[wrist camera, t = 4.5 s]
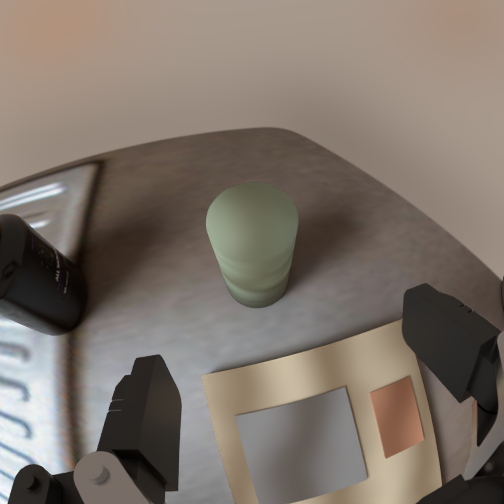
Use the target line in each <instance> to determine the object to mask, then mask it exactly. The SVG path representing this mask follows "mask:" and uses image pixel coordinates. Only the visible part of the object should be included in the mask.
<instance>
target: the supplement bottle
mask: <svg viewBox="0 0 504 504" xmlns="http://www.w3.org/2000/svg"><path fill="white" fill-rule="evenodd" d="M86 294H87V290H86V282H85V279H84V276H83V274H82V272H81V270H80V269H79V268H78V267H77V266H76V265H75V264H74V263H73V262H71V261H70V260H69V259H68V258H67V257H65V256H64V255H63V254H62V253H61V252H59V251H58V250H57V249H56V248H55V247H54V246H52V245H51V244H50V243H49V242H48V241H47V240H45V239H44V238H43V237H42V236H41V235H40V234H39V233H37V232H36V231H35V230H34V229H33V228H32V227H31V226H30V225H29V224H28V223H26V222H25V221H24V220H23V219H22V218H21V217H19V216H17V215H14V214H2V215H0V315H1V316H4V317H6V318H8V319H10V320H12V321H15V322H17V323H19V324H21V325H24V326H26V327H28V328H31V329H33V330H36V331H38V332H41V333H44V334H47V335H51V336H55V335H61V334H63V333H65V332H67V331H68V330H70V329H71V328H72V327H73V326H74V325H75V324H76V323H77V321H78V320H79V318H80V316H81V314H82V312H83V309H84V306H85V302H86Z"/></svg>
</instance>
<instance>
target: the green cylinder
mask: <svg viewBox="0 0 504 504" xmlns="http://www.w3.org/2000/svg"><path fill="white" fill-rule="evenodd" d="M298 219H299V218H298V212H297V209H296V207H295V205H294V203H293V201H292V200H291V199H290V197H289V196H288V195H287V194H285V193H284V192H283V191H282V190H280V189H278V188H276V187H274V186H272V185H269V184H265V183H259V182H249V183H242V184H238V185H235V186H233V187H230V188H229V189H227V190H225V191H224V192H222V193H221V194H220V195H219V196H218V197H217V198H216V199H215V200H214V201H213V203H212V204H211V206H210V208H209V210H208V213H207V218H206V228H207V232H208V235H209V238H210V241H211V244H212V246H213V249H214V252H215V255H216V257H217V260H218V263H219V266H220V268H221V271H222V274H223V277H224V279H225V282H226V285H227V287H228V290H229V292H230V294H231V295H232V297H233V298H234V299H235V300H236V301H237V302H239V303H240V304H242V305H244V306H247V307H251V308H263V307H267V306H270V305H272V304H273V303H275V302H276V301H278V300H279V299H280V298H281V297H282V295H283V294H284V292H285V290H286V287H287V283H288V278H289V273H290V267H291V262H292V257H293V251H294V246H295V240H296V235H297V229H298Z"/></svg>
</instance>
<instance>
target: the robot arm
mask: <svg viewBox="0 0 504 504" xmlns="http://www.w3.org/2000/svg"><path fill="white" fill-rule="evenodd" d="M502 300H503V307H504V277H503V283H502ZM402 335H403V338H404V341H405V342H406V344H407V345H408V346H409V347H410V348H411V350H412V351H413V352H414V353H415V354H416V355H417V356H418V357H419V358H420V359H421V360H422V361H423V362H424V364H425V365H426V366H427V367H428V368H429V369H430V370H431V371H432V372H433V373H434V375H435V376H436V377H437V378H438V379H439V380H440V381H441V382H442V384H443V385H444V386H445V387H446V388H447V389H448V390H449V391H450V393H451V394H452V395H453V396H454V397H455V398H456V399H457V401H458V402H459V403H461V402H463V401H464V400H466V399H467V398H469V397H470V396H473V398H474V399H475V400H474V402H473V405H472V439H471V452H470V457H469V460H468V462H467V465H466V467H465V470H464V473H463V476H462V475H461V474H460V475H458V476H457V477H456V478H454V479H452V480H451V481H449V482H448V483H446V484H445V485H443V486H441V487H440V488H438V489H436V490H435V491H433V492H431V493H430V494H428V495H426V496H424V497H423V498H422V499H420V500H419V501H418V502H417V503H416V504H504V331H502V332H501V331H500V330H499V329H497V328H496V327H495V326H493V325H492V324H491V323H489V322H488V321H487V320H485V319H484V318H483V317H481V316H480V315H478V314H477V313H476V312H474V311H473V312H472V309H470V308H469V307H467V306H466V305H465V306H464V304H463V303H462V302H460V301H459V300H457V299H456V298H455V297H453V296H450V295H447V294H444V293H441V292H439V291H437V290H436V289H434V288H433V287H431V286H430V285H428V284H426V283H425V284H422V285H419V286H416V287H414V288H411V289H408V290H406V292H405V294H404V302H403V318H402ZM181 409H182V404H181V397H180V393H179V390H178V388H177V386H176V384H175V382H174V380H173V378H172V376H171V374H170V372H169V370H168V368H167V366H166V364H165V362H164V360H163V358H162V356H161V355H159V354H158V355H152V356H146V357H140V358H136V360H135V362H134V365H133V369H132V372H131V375H125V376H124V377H123V378H122V380H121V381H120V382H119V383H118V385H117V386H116V388H115V391H114V394H113V397H112V402H111V403H110V406H109V412H108V413H107V416H106V420H105V423H104V426H103V430H102V433H101V437H100V441H99V444H98V448H97V451H96V452H93V453H90V454H88V455H86V456H85V457H83V458H82V459H81V460H80V461H79V462H78V464H77V465H76V467H75V470H74V471H72V472H67V473H61V474H56V475H51V474H50V473H49V472H48V471H46V470H45V469H44V468H43V467H42V466H40V465H36V464H31V465H27V466H25V467H24V468H22V469H21V470H20V471H19V472H18V473H17V475H16V477H15V480H14V483H13V486H12V490H11V493H10V497H9V500H8V504H166V503H165V491H178V475H179V446H180V425H181Z"/></svg>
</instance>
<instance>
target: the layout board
mask: <svg viewBox="0 0 504 504" xmlns="http://www.w3.org/2000/svg"><path fill="white" fill-rule="evenodd" d="M201 376H202V381H203V386H204V390H205V395H206V399H207V403H208V408H209V412H210V416H211V420H212V424H213V428H214V432H215V436H216V440H217V443H218V447H219V451H220V455H221V458H222V462H223V465H224V469H225V472H226V476H227V479H228V482H229V486H230V489H231V492H232V495H233V499H234V502H235V504H416V503H417V502H418V501H419V500H420V499H422V498H423V497H424V496H426V495H428V494H430V493H431V492H433V491H435V490H436V489H438V488H440V487H441V486H442V480H441V472H440V465H439V458H438V451H437V445H436V440H435V434H434V429H433V424H432V419H431V414H430V410H429V405H428V401H427V397H426V393H425V389H424V385H423V381H422V377H421V373H420V370H419V366H418V363H417V359H416V356H415V353H414V352H413V351H412V350H411V348H410V347H409V346H408V345H407V344H406V342H405V341H404V338H403V335H402V319H400V320H397V321H395V322H392V323H390V324H387V325H384V326H382V327H379V328H376V329H373V330H370V331H368V332H365V333H362V334H359V335H356V336H353V337H350V338H347V339H344V340H341V341H338V342H335V343H331V344H328V345H325V346H322V347H318V348H315V349H311V350H308V351H304V352H301V353H297V354H294V355H290V356H286V357H282V358H278V359H274V360H270V361H266V362H262V363H258V364H254V365H249V366H245V367H240V368H236V369H231V370H226V371H221V372H216V373H211V374H205V375H201Z"/></svg>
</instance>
